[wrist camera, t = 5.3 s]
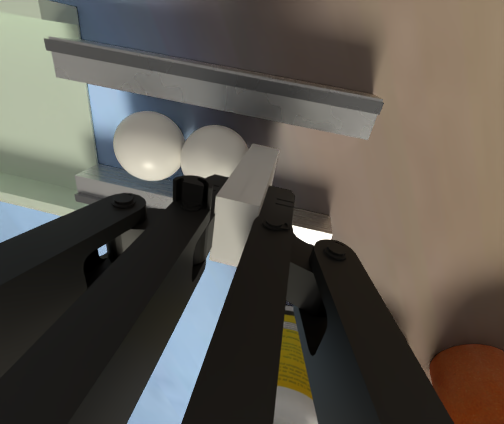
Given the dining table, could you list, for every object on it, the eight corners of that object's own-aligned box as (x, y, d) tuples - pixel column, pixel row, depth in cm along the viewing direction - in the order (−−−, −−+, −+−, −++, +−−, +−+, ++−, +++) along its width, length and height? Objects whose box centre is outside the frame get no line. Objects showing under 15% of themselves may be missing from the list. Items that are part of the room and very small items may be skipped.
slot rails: (101, 187, 20) (76, 202, 17) (81, 39, 15) (43, 35, 13) (322, 238, 18) (323, 261, 16) (372, 94, 14) (384, 100, 12)
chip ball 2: (200, 172, 18) (165, 195, 15) (203, 113, 16) (165, 124, 13) (253, 188, 17) (230, 215, 14) (264, 127, 15) (239, 143, 12)
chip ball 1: (140, 160, 18) (101, 182, 15) (137, 100, 16) (91, 110, 13) (194, 173, 18) (166, 198, 14) (197, 113, 16) (166, 126, 13)
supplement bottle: (263, 294, 22) (235, 440, 13) (329, 313, 22) (342, 475, 13) (249, 335, 25) (219, 478, 16) (308, 353, 24) (307, 507, 16)
